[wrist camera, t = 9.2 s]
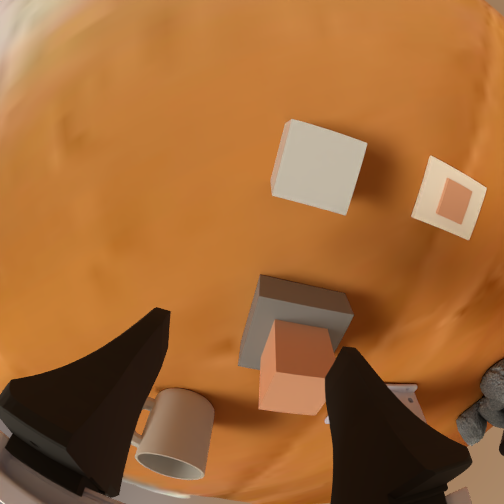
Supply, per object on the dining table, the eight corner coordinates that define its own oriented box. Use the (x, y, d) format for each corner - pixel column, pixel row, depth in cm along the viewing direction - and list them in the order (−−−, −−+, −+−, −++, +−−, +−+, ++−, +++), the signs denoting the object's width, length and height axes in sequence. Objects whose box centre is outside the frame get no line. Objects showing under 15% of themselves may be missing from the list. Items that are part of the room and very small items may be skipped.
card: (484, 187, 17) (488, 188, 16) (467, 239, 19) (470, 241, 18) (429, 155, 17) (433, 156, 16) (410, 216, 19) (414, 218, 18)
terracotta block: (308, 365, 21) (315, 415, 16) (260, 357, 21) (258, 409, 16) (327, 328, 19) (340, 379, 15) (274, 319, 19) (275, 371, 15)
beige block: (342, 140, 17) (367, 143, 12) (326, 195, 19) (345, 215, 14) (284, 123, 17) (291, 118, 12) (270, 180, 18) (272, 195, 14)
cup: (201, 426, 31) (190, 483, 22) (130, 395, 29) (106, 451, 21) (225, 402, 28) (215, 470, 20) (142, 366, 26) (113, 431, 18)
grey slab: (344, 293, 21) (354, 314, 19) (315, 354, 24) (319, 378, 22) (260, 274, 21) (259, 295, 18) (241, 341, 24) (238, 365, 21)
